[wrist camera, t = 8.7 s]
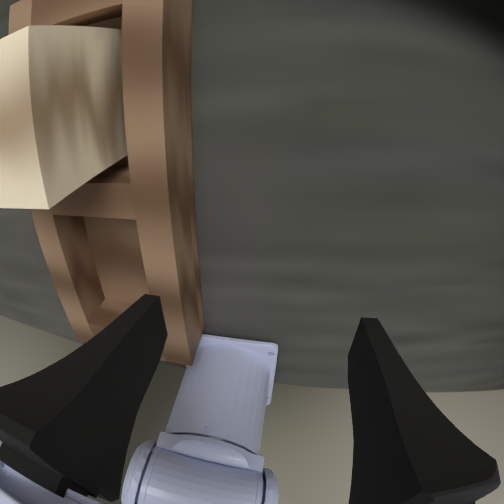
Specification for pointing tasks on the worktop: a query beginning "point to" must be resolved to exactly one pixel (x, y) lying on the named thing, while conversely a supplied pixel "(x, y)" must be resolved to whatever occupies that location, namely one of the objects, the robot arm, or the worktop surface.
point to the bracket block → (58, 111)
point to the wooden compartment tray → (131, 181)
